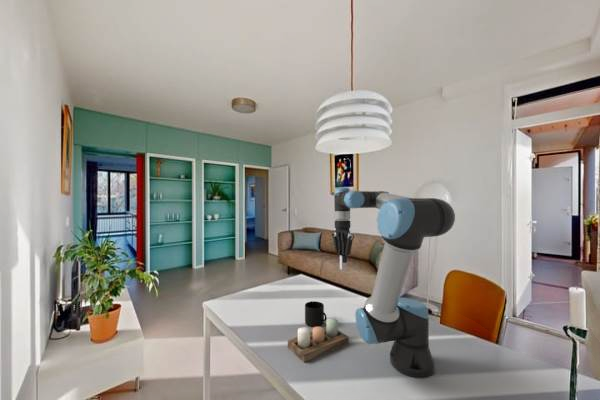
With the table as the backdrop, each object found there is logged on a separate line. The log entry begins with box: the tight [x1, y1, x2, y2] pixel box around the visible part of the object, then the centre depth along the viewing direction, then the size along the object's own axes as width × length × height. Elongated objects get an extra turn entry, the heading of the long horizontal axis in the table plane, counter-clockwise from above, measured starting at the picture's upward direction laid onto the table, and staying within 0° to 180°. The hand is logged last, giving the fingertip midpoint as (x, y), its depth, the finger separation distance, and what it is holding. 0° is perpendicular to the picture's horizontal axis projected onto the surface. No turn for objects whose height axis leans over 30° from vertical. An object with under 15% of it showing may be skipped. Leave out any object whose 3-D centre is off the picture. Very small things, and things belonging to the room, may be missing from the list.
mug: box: [304, 300, 328, 328], centre depth 126 cm, size 9×12×9 cm
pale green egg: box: [325, 317, 339, 338], centre depth 111 cm, size 5×5×6 cm
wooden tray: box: [287, 326, 350, 364], centre depth 106 cm, size 12×23×3 cm, turn 123°
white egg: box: [297, 326, 311, 350], centre depth 102 cm, size 5×5×6 cm
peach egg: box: [312, 326, 325, 344], centre depth 106 cm, size 5×5×6 cm
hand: (342, 268), depth 122 cm, fingers closed
